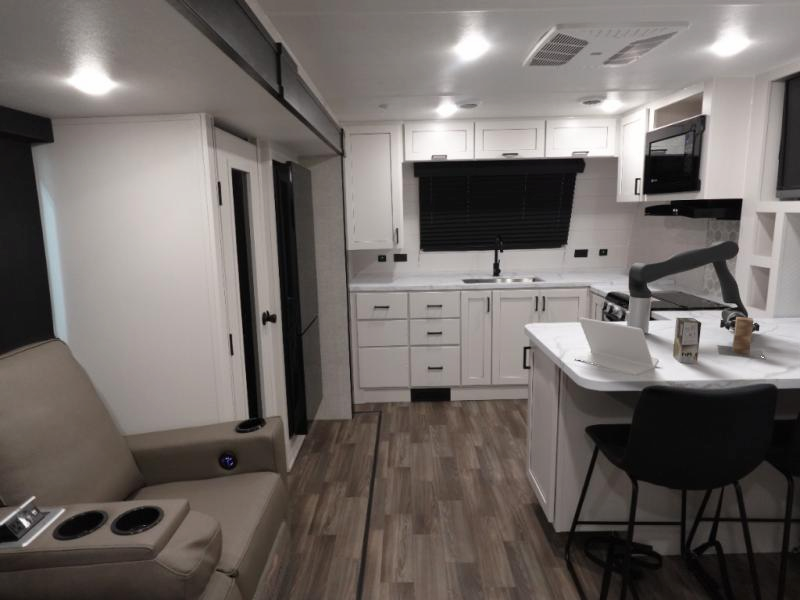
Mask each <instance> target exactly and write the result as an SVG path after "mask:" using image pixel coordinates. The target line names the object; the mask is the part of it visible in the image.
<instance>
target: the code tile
mask: <svg viewBox="0 0 800 600" xmlns="http://www.w3.org/2000/svg"><path fill="white" fill-rule="evenodd" d="M716 347H717V351H718V355H721V356H730V357H739V358H747V359H756V360H757V359H758V360H766V359H767V356H766V355H765V353H764V351H763V349H760V348H759V349H758V348H750V354H740V353H733V350H732V348H733V346H729V345H720V344H717V345H716ZM763 353H764V354H763ZM761 356H762V357H764V358H762V357H761ZM766 361H767V360H766Z"/></svg>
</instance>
